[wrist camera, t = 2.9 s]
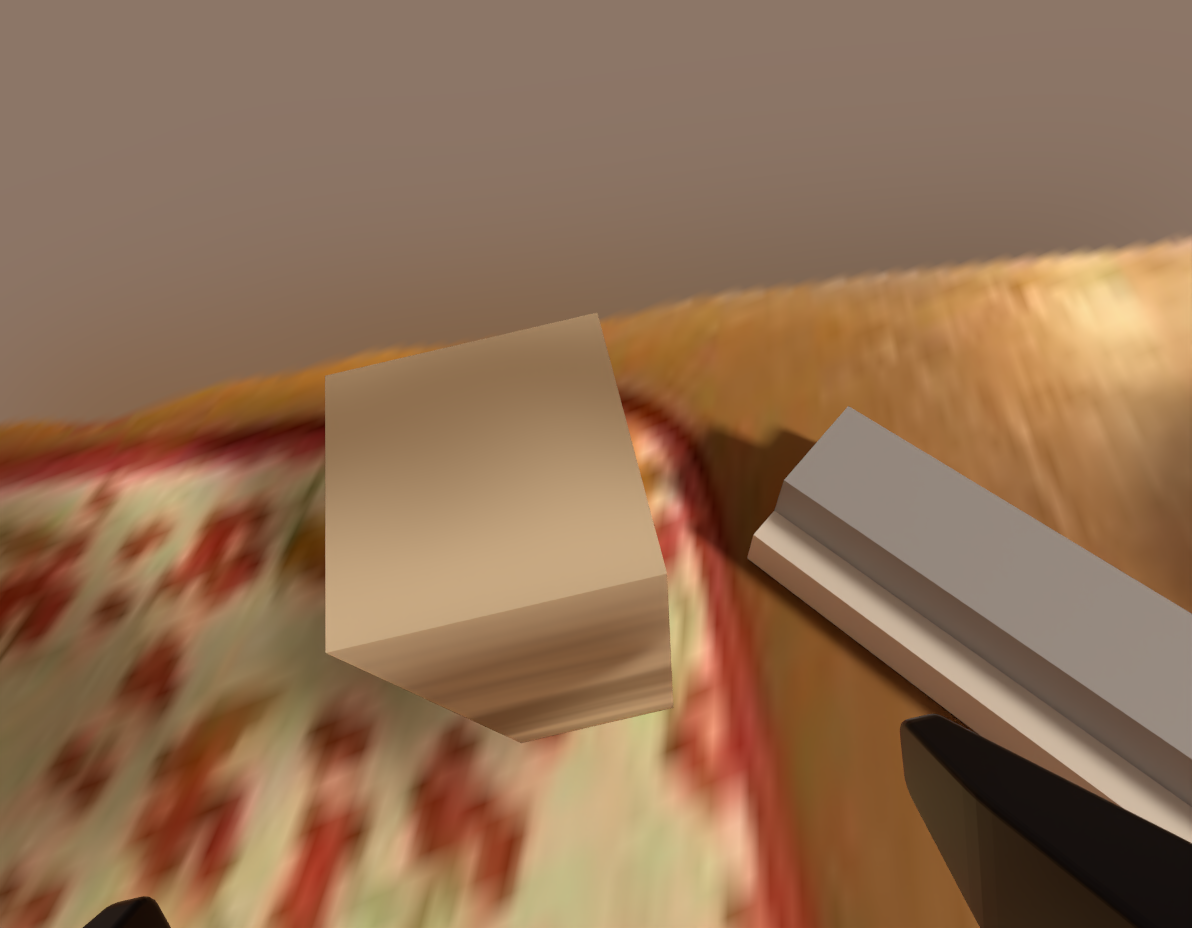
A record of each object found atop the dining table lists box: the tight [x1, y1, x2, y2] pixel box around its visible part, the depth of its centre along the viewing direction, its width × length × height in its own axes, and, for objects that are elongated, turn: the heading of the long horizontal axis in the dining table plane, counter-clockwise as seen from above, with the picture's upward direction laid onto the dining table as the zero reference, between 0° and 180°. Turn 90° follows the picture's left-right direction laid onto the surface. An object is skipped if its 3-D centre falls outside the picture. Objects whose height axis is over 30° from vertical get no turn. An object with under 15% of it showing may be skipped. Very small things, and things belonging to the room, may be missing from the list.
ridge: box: [747, 406, 1192, 843], centre depth 17 cm, size 16×5×4 cm, turn 47°
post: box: [325, 313, 673, 743], centre depth 15 cm, size 4×4×12 cm
